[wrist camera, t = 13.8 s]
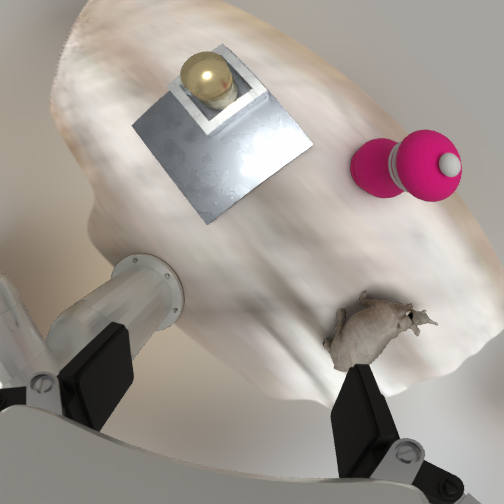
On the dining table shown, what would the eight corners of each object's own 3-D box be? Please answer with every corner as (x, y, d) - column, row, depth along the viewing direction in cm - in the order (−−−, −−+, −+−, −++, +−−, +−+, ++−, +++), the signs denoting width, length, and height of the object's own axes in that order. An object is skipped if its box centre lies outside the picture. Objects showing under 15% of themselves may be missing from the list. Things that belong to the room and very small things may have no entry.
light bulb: (214, 117, 33) (197, 101, 25) (192, 91, 32) (171, 72, 25) (245, 93, 32) (236, 72, 24) (222, 68, 31) (208, 43, 24)
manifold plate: (209, 222, 38) (202, 228, 34) (136, 127, 36) (122, 123, 32) (312, 146, 34) (315, 142, 30) (228, 51, 32) (223, 39, 28)
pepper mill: (350, 136, 33) (419, 99, 14) (399, 150, 33) (492, 135, 14) (342, 189, 35) (406, 202, 16) (390, 201, 35) (481, 226, 16)
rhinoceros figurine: (291, 327, 38) (378, 360, 25) (350, 272, 44) (433, 280, 30) (311, 364, 40) (389, 400, 27) (364, 309, 46) (439, 324, 33)
